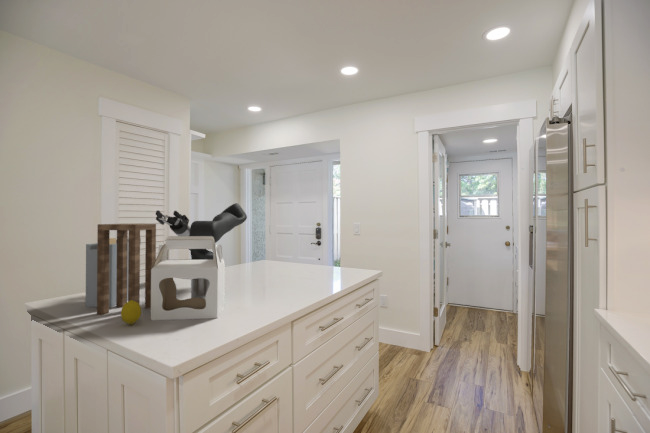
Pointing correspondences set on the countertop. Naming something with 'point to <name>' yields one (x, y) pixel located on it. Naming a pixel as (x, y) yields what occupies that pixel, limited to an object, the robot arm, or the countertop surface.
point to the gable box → (166, 270)
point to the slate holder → (92, 274)
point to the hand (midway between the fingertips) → (165, 212)
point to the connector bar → (114, 241)
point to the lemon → (131, 312)
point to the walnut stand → (124, 264)
